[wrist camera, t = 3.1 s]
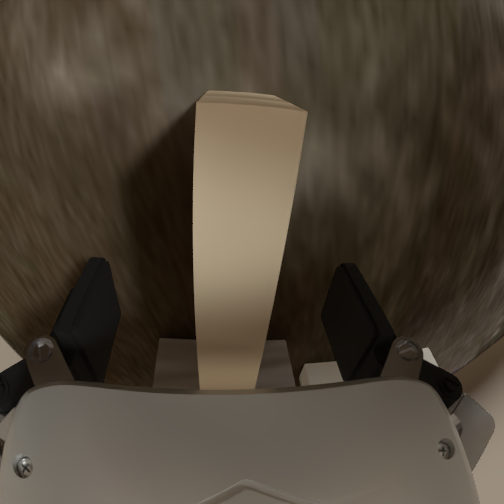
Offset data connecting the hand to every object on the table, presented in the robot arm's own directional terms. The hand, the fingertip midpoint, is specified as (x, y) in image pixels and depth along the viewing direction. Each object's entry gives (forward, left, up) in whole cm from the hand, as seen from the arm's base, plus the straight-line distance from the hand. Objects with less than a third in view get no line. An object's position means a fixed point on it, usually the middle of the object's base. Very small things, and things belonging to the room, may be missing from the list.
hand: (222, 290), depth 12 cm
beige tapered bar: (0, 0, -3) cm, 3 cm away
